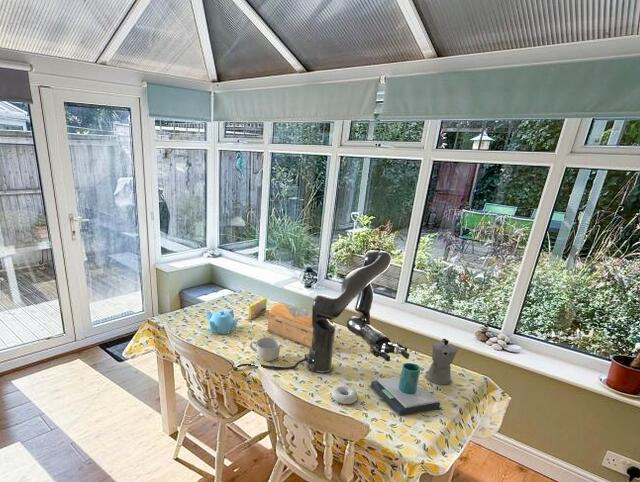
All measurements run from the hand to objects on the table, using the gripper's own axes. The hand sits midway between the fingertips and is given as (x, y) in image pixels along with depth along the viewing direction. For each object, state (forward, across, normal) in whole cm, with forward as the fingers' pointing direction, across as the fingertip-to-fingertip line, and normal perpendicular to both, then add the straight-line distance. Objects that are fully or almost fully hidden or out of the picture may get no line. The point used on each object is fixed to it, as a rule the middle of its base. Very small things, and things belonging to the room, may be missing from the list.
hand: (398, 357), depth 162 cm
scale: (+8, -1, +13) cm, 15 cm away
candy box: (-85, -33, +13) cm, 92 cm away
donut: (+3, -24, +13) cm, 27 cm away
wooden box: (-54, -20, +13) cm, 59 cm away
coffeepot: (-1, +22, +13) cm, 26 cm away
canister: (+8, 0, +10) cm, 12 cm away
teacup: (-36, -44, +13) cm, 58 cm away
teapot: (-70, -57, +13) cm, 91 cm away
